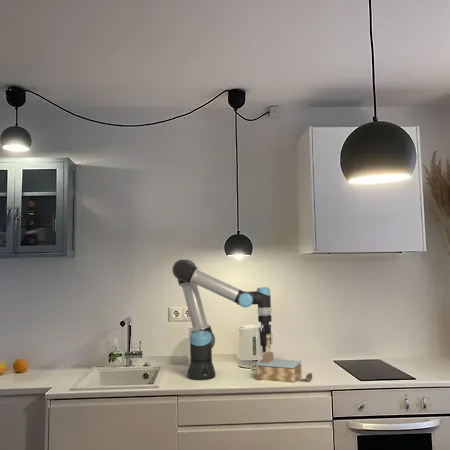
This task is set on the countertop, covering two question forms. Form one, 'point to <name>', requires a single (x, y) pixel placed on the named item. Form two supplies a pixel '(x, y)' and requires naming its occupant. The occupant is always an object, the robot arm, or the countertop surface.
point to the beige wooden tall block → (268, 342)
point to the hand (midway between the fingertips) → (266, 356)
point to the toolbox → (282, 374)
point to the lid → (277, 361)
